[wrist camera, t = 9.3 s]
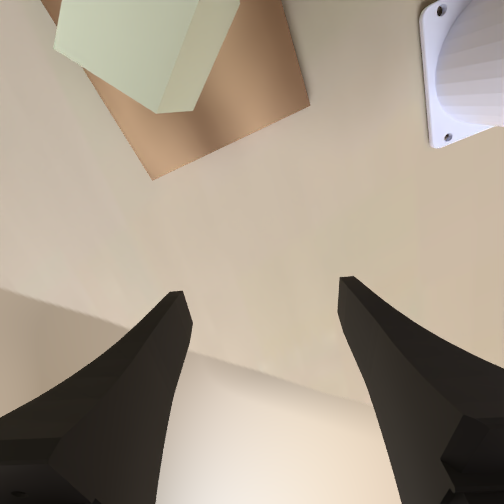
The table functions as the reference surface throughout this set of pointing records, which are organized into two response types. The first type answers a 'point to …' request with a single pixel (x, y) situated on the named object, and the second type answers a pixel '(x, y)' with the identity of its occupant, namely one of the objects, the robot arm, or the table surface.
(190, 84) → the product carton
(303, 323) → the table surface
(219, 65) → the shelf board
